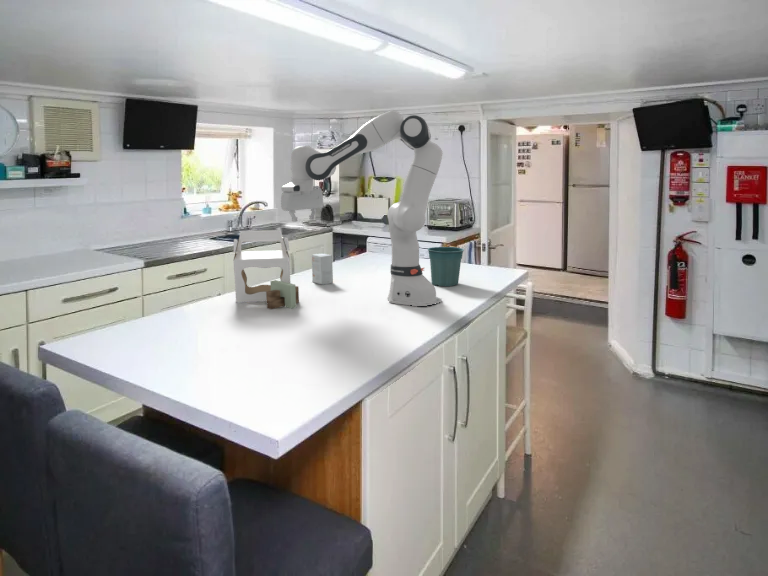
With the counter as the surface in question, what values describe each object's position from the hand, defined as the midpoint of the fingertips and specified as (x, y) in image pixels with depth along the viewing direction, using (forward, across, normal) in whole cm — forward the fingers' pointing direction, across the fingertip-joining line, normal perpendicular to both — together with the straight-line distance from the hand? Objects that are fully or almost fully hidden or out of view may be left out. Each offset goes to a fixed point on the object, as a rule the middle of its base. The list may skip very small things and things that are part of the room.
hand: (303, 220), depth 240 cm
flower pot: (+31, -54, +34) cm, 71 cm away
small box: (+31, -20, -11) cm, 39 cm away
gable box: (+31, +16, -8) cm, 36 cm away
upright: (+31, +19, +8) cm, 37 cm away
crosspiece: (+31, +19, +8) cm, 37 cm away
